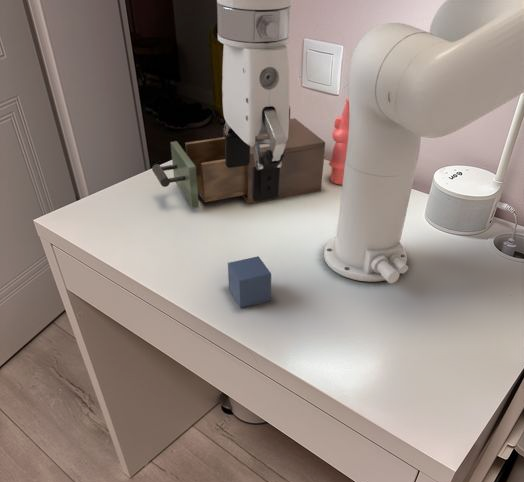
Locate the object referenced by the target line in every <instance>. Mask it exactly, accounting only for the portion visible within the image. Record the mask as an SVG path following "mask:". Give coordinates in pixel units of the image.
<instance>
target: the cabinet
mask: <svg viewBox="0 0 524 482" xmlns="http://www.w3.org/2000/svg"><path fill="white" fill-rule="evenodd" d="M222 134H223V135H222V137H225V136H228V135H229V134H228V135H226V134H225V130H224V127H223V128H222ZM264 138H269V137H268V136H259V137H257V139H264ZM269 149H270V148H269V146H268V147H260V150H261V154H262V156H263V155H264V153H265V152H266V151H267V150H269ZM325 150H326V141H324V140H323V139H322V138H321V137H319V136H318V135H317V134H316V133H314V132H313V131H312V130H311V129H310V128H308V127H307V126H305V124H303V123H301V122H300V120H298V119H297V118H295V117H294V118H290V119H289V130H288V139H287V141H286V146H285V149H284V152H283V154H284V157H283V160H282V166H281V167H280V175H279V193H278V197H277V198H274V199H268V200H261V201H254V200H253V199H252V167H256V165H255V160H254V155H253V150H252V147H251V146H250V163H249V165H247V195H242V196H241V197H242V199H243V200H244V201H245V202H246V203H247V205H252V204H257V203H263V202H268V201H272V200H279V199H284V198H290V197H294V196H300V195H306V194H310V193H316V192H321V191H322V185H323V183H322V182H323V172H324V163H325V162H324V161H325Z"/></svg>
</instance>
